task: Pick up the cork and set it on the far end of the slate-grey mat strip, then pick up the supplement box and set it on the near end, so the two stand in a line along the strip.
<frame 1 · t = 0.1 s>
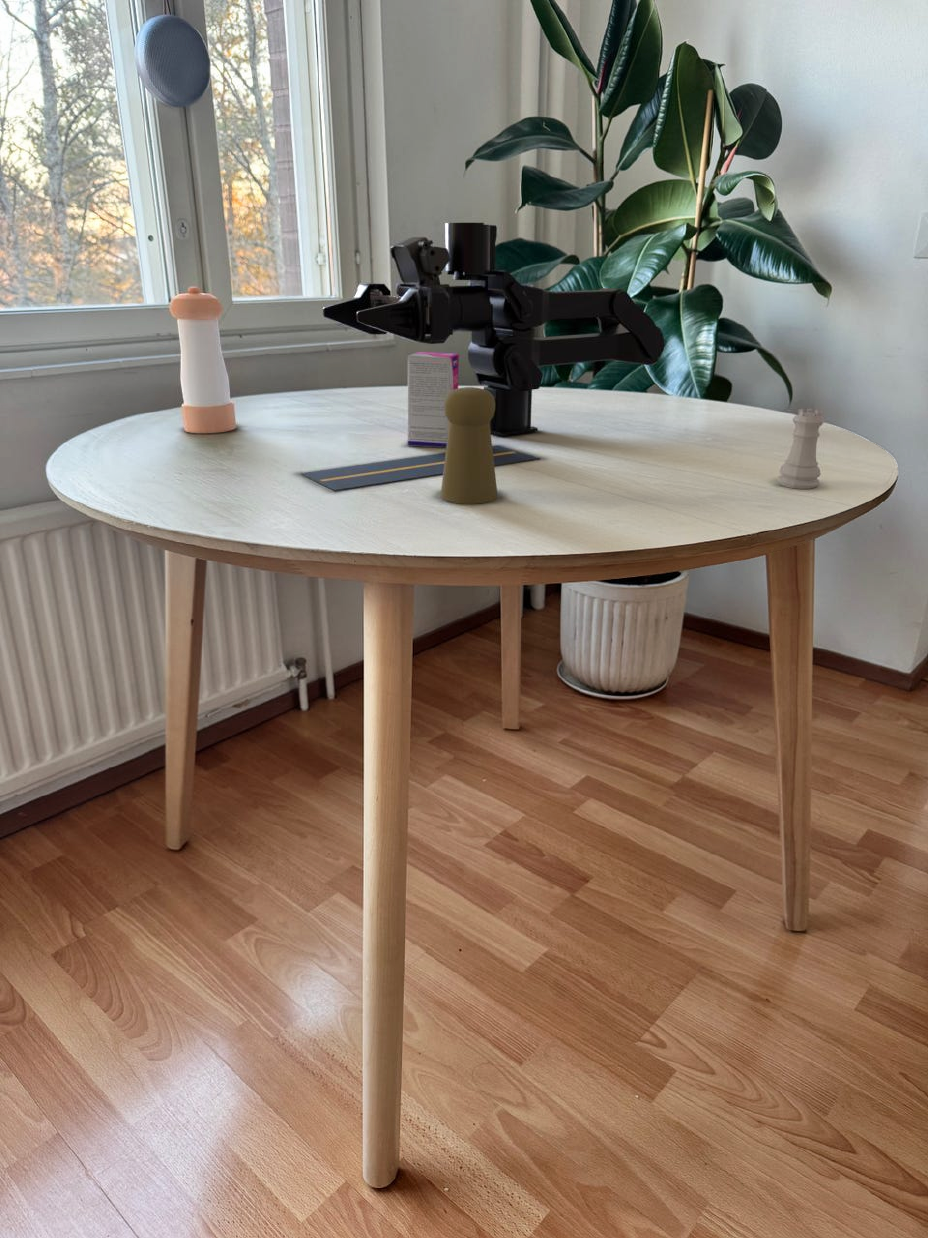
hand: (339, 314, 100), 17 cm above the table, tool horizontal, fingers open, 9 cm apart
rook chess piece: (797, 486, 92), on the table
supplement box: (433, 444, 112), on the table
line mat: (424, 466, 99), on the table
salt shaker: (210, 429, 121), on the table
cork: (469, 497, 87), on the table
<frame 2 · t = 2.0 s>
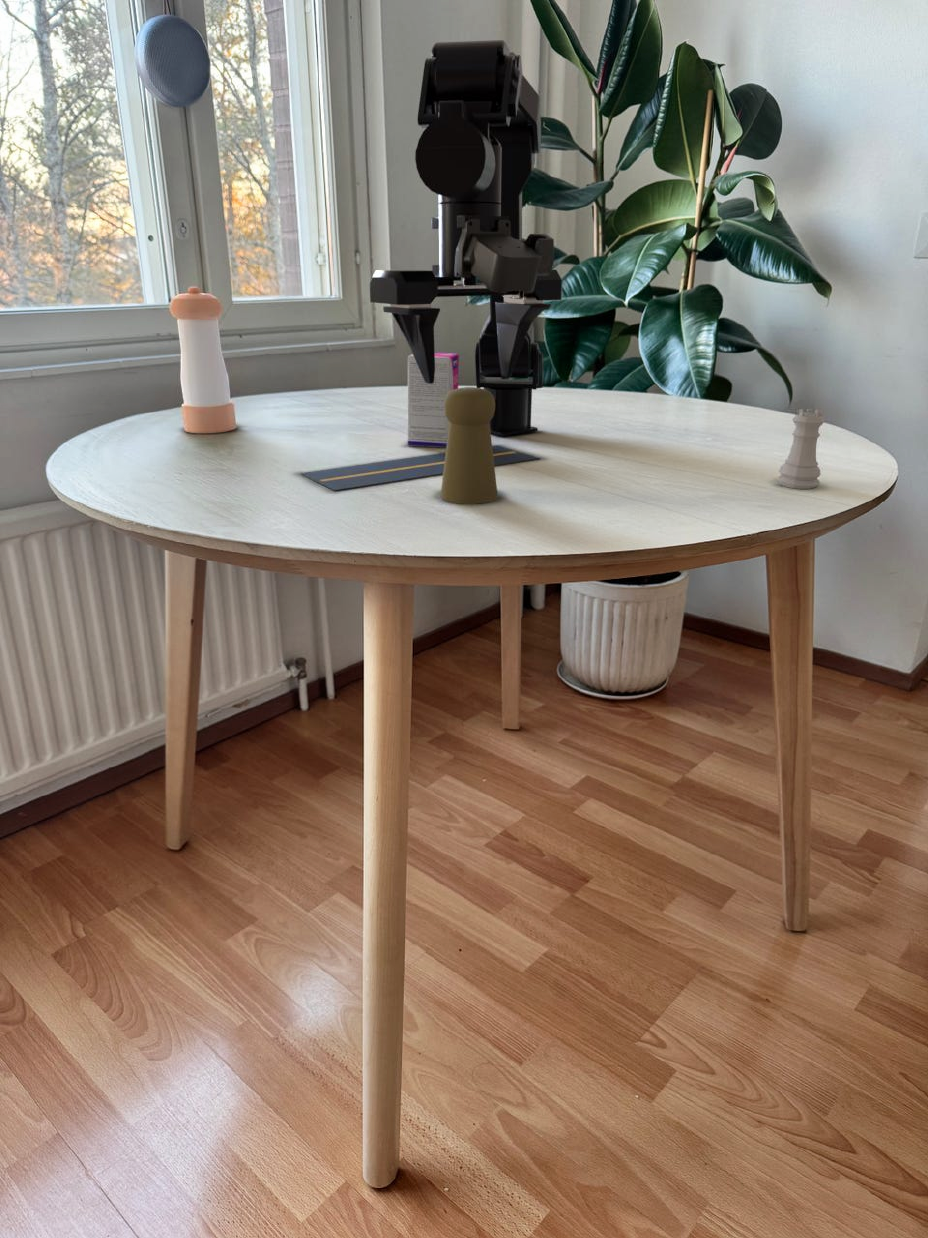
hand: (469, 379, 83), 12 cm above the table, tool pointing down, fingers open, 9 cm apart
nothing on the table moved.
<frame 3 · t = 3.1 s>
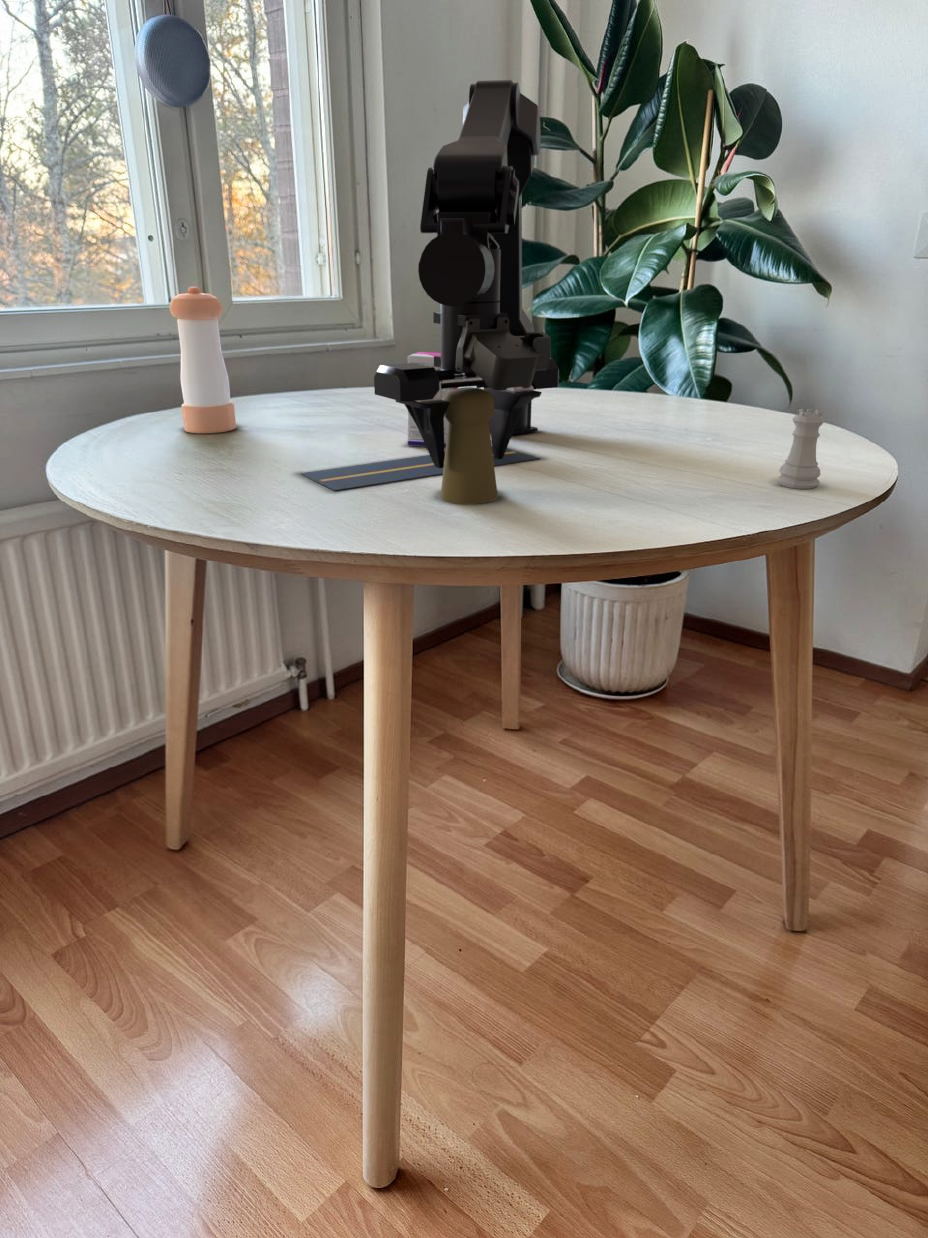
hand: (469, 463, 86), 3 cm above the table, tool pointing down, fingers closed on cork, 7 cm apart
cork: (469, 497, 87), on the table, touching gripper
everything else where it was.
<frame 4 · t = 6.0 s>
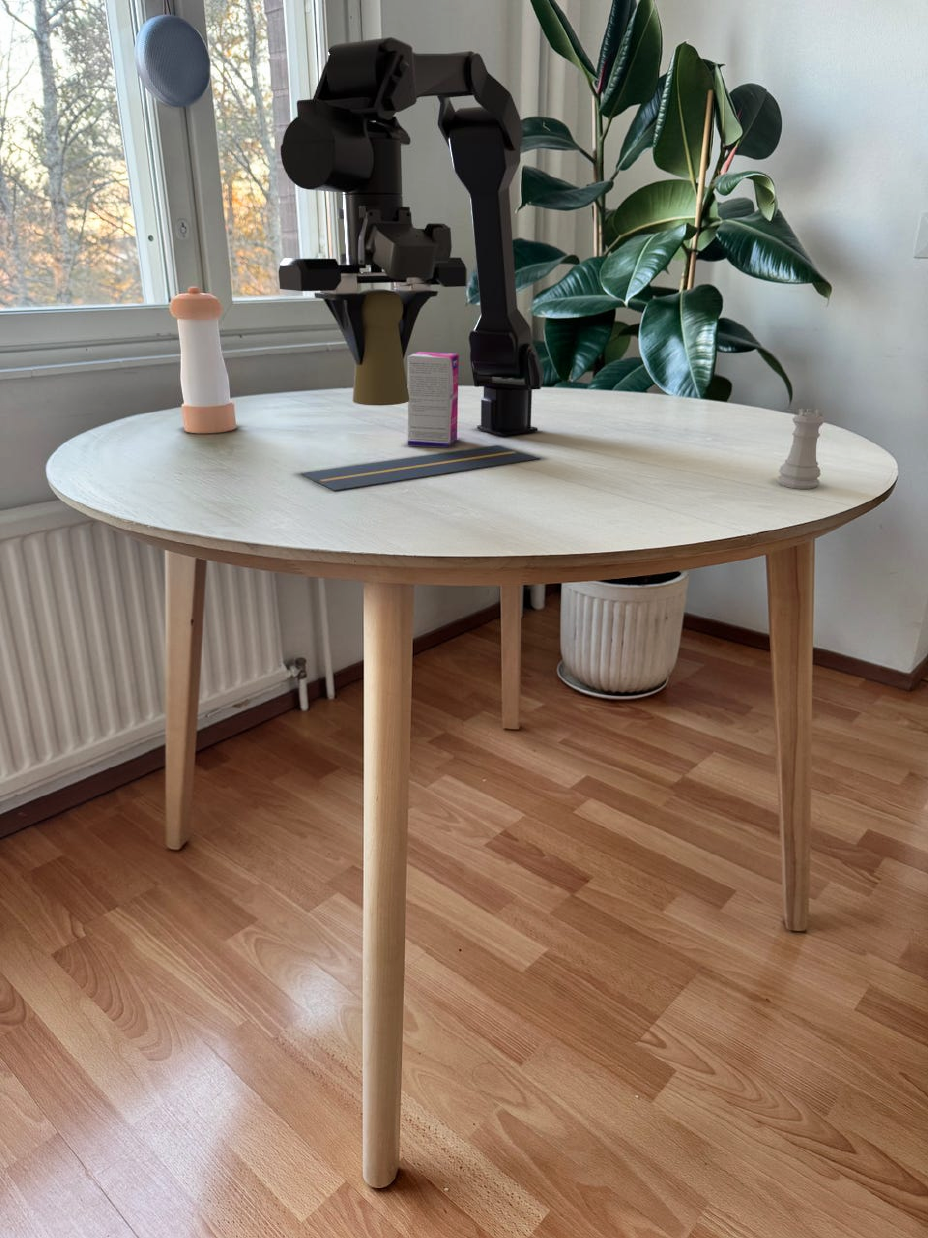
hand: (379, 363, 87), 13 cm above the table, tool pointing down, fingers closed on cork, 4 cm apart
cork: (381, 402, 88), point 9 cm above the table, touching gripper
everything else where it was.
when the fingers open (4 cm above the table, at t = 8.8 s): cork stays where it is, resting on line mat.
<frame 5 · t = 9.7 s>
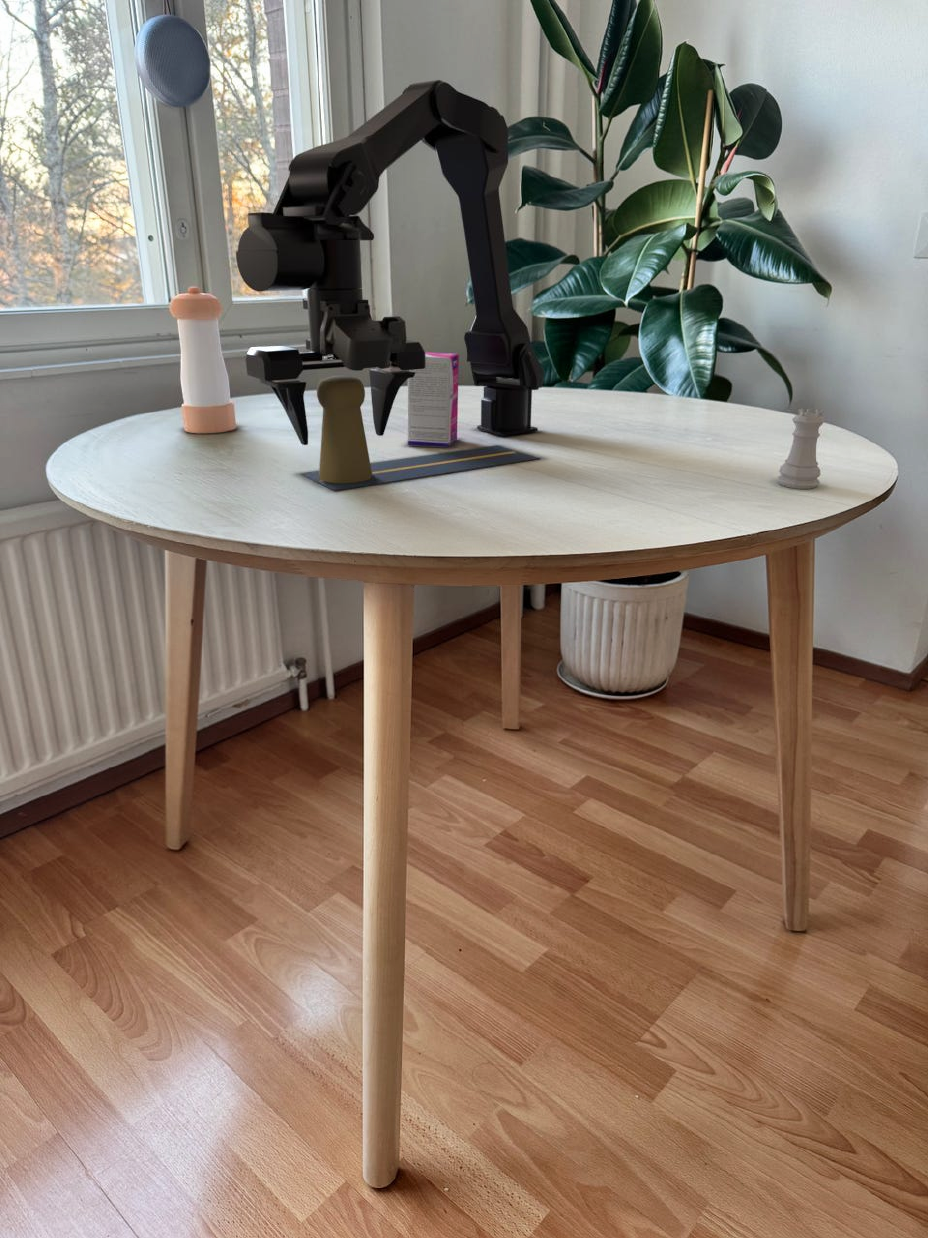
hand: (343, 439, 92), 4 cm above the table, tool pointing down, fingers open, 9 cm apart
cork: (345, 478, 94), resting on line mat
everything else where it was.
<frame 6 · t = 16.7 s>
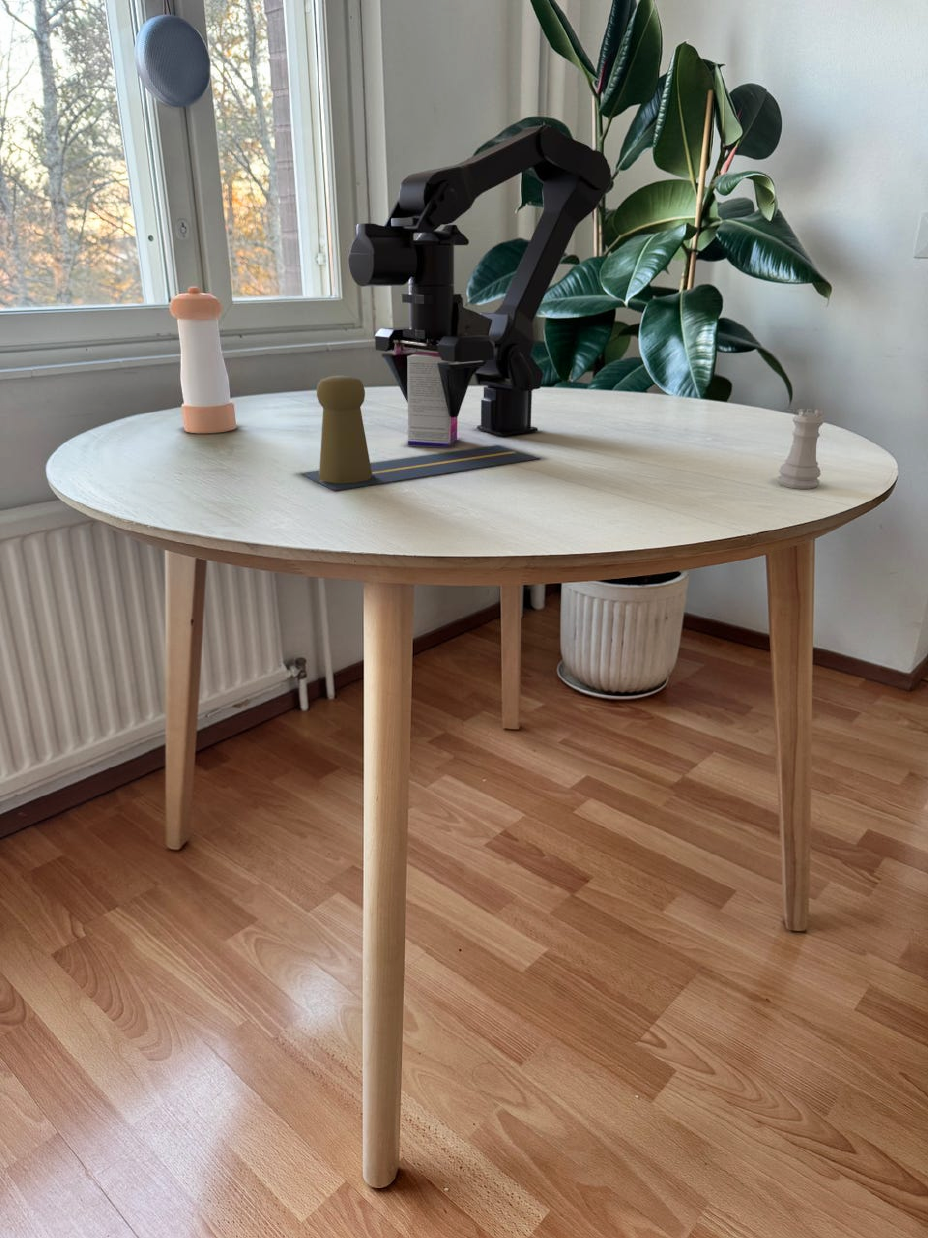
hand: (433, 411, 110), 4 cm above the table, tool pointing down
supplement box: (433, 444, 112), on the table, touching gripper
everything else where it was.
when the fingers open (4 cm above the table, at t = 22.6 s): supplement box stays where it is, resting on line mat.
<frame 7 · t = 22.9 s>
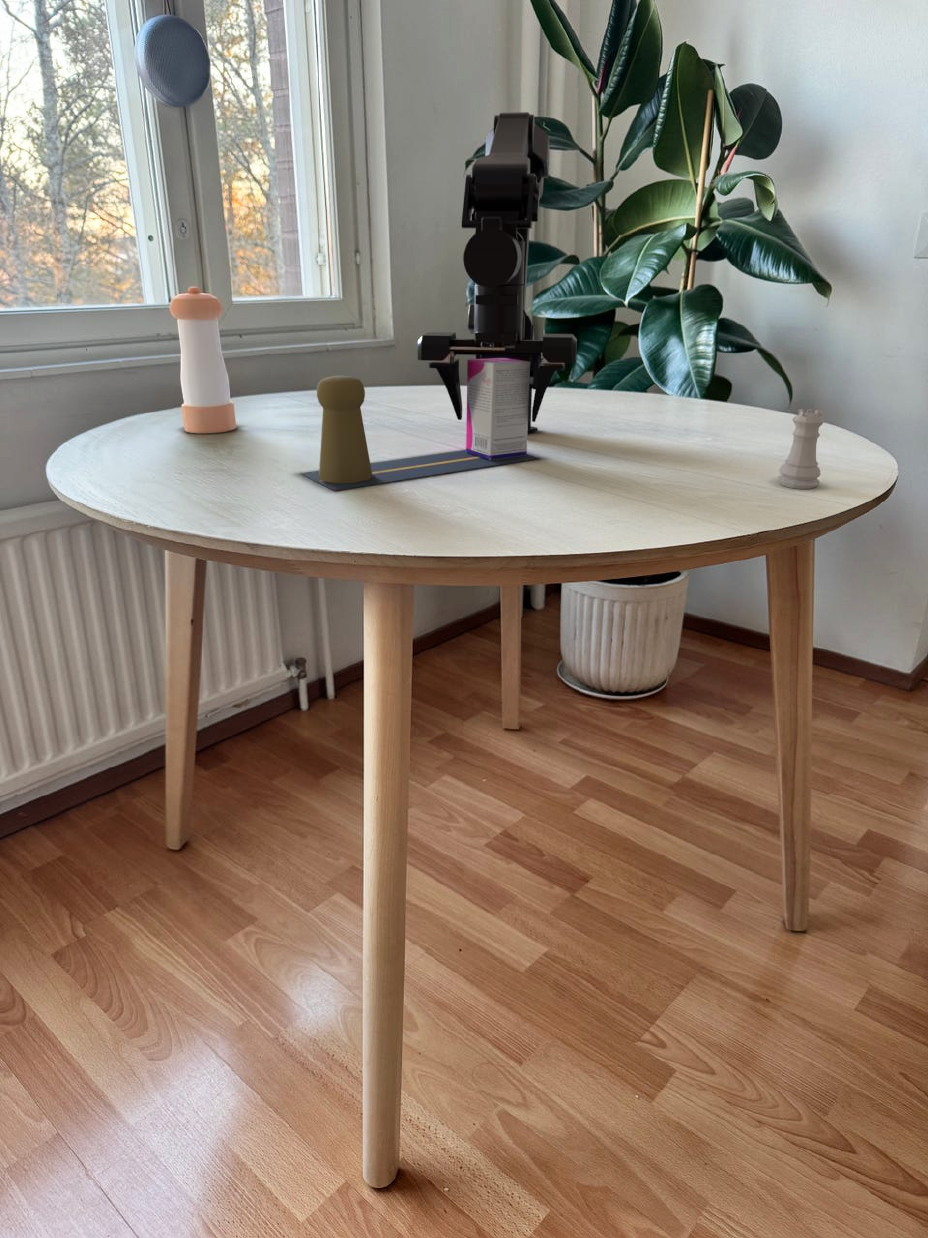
hand: (496, 420, 103), 4 cm above the table, tool pointing down, fingers open, 9 cm apart
supplement box: (496, 455, 105), resting on line mat
everything else where it was.
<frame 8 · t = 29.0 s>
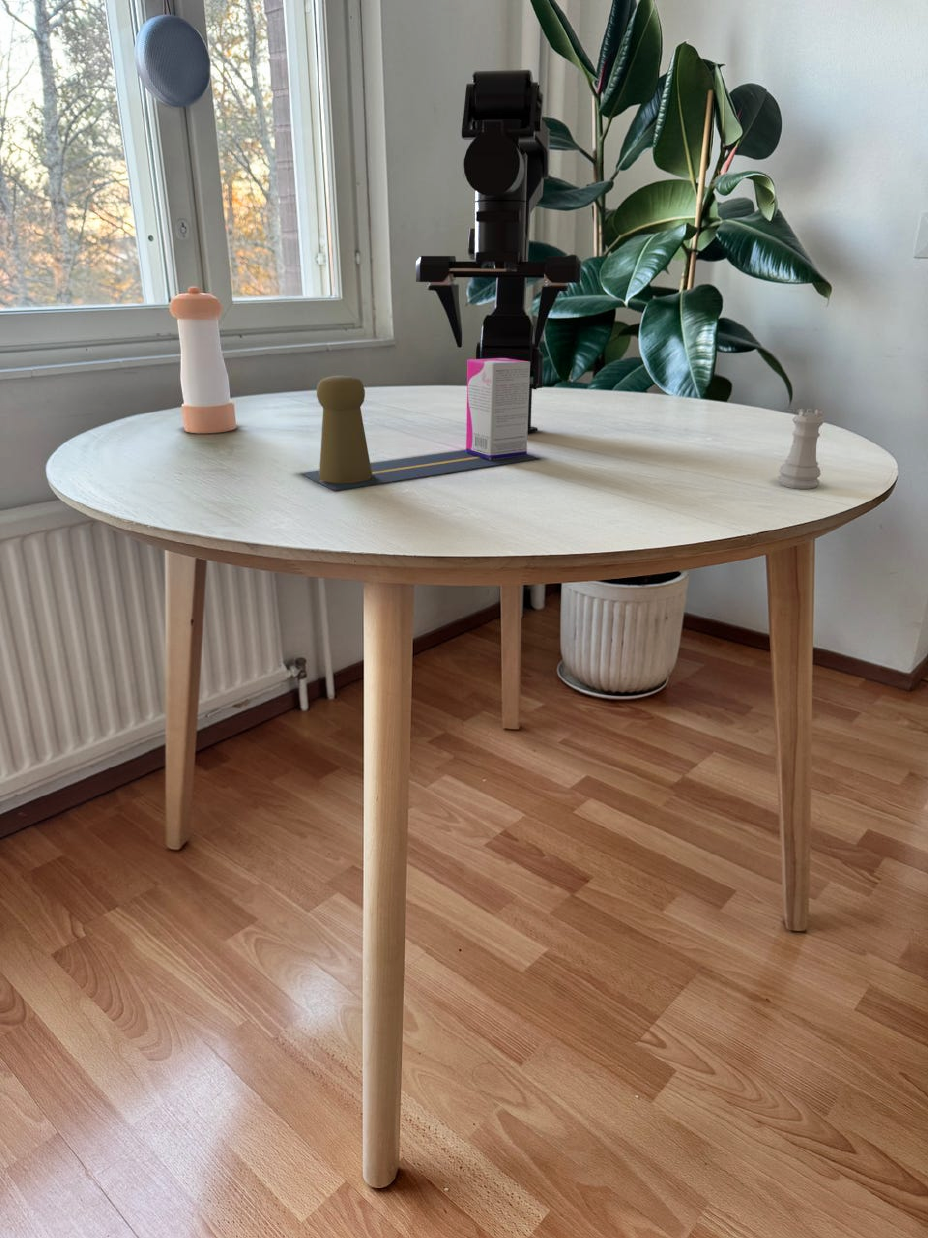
hand: (497, 347, 100), 13 cm above the table, tool pointing down, fingers open, 9 cm apart
nothing on the table moved.
at the end: cork 0.1 cm from the target spot on the line mat, point 0.0 cm above the line mat's base; supplement box 0.3 cm from the target spot on the line mat, point 0.0 cm above the line mat's base; cork tilted 0° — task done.
